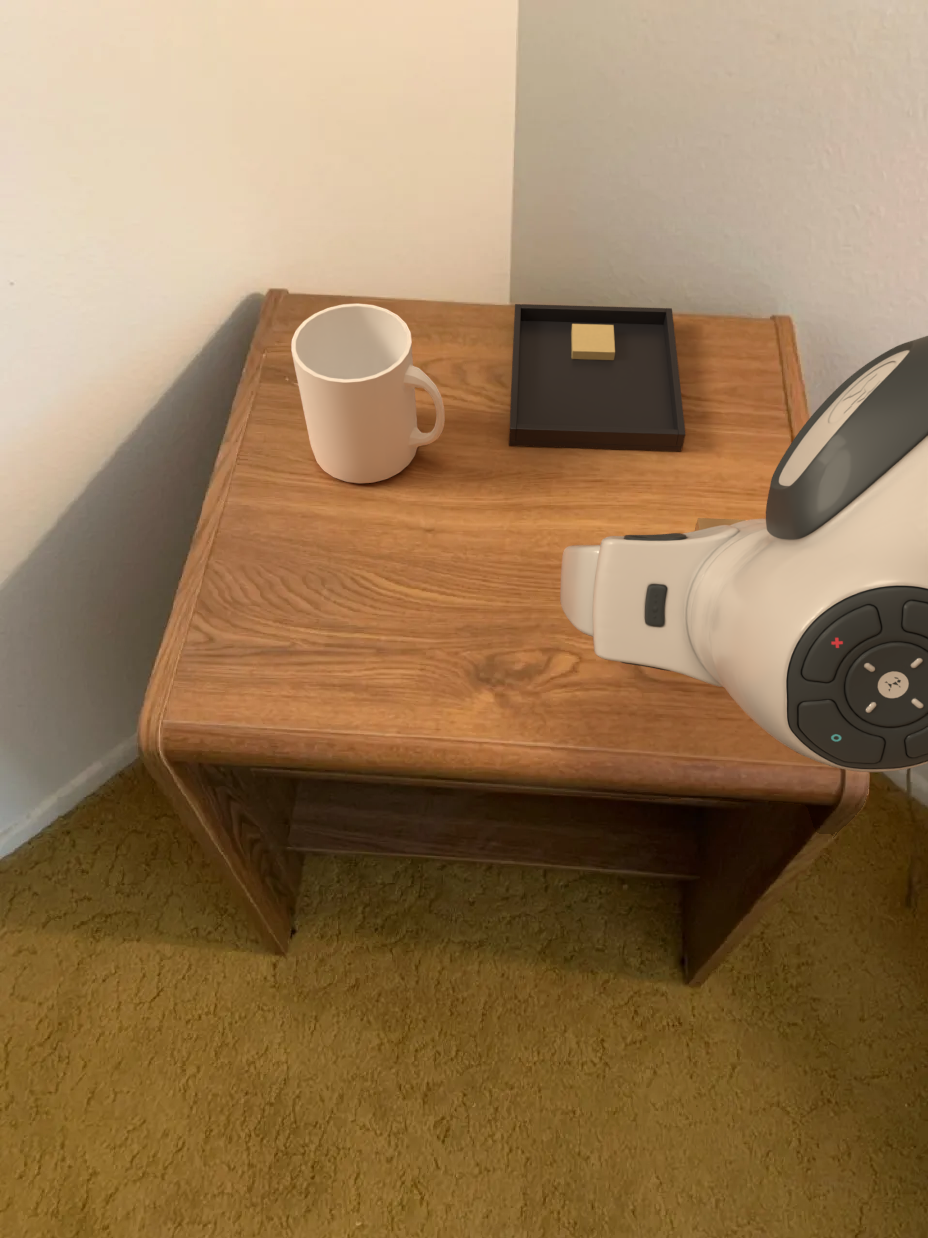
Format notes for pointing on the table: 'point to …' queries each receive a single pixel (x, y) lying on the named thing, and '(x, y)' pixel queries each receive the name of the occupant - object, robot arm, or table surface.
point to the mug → (361, 392)
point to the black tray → (595, 381)
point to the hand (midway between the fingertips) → (708, 571)
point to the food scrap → (592, 342)
